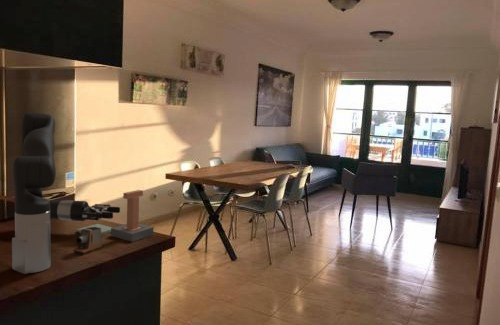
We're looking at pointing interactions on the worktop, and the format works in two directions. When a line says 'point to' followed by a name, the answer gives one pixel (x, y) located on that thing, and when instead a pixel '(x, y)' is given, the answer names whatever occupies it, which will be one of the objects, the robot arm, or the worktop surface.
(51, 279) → the worktop surface
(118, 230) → the socket block
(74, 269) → the worktop surface
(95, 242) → the electronic device
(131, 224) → the t key
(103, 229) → the mat
